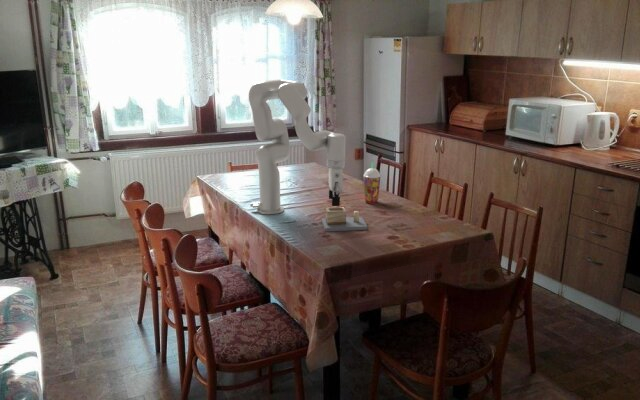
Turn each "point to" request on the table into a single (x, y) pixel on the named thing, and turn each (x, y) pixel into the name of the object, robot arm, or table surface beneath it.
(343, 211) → the sleeve
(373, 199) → the smoothie
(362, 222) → the pin board
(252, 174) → the table surface
